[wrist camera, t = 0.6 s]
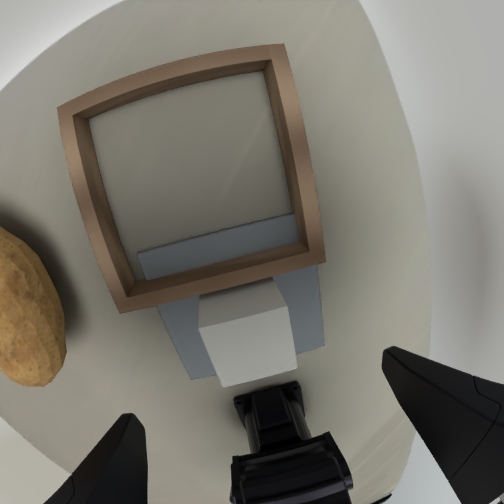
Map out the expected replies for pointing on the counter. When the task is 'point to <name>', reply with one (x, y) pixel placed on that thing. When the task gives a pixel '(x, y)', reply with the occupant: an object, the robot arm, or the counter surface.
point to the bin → (221, 273)
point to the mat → (224, 248)
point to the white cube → (247, 332)
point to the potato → (28, 316)
